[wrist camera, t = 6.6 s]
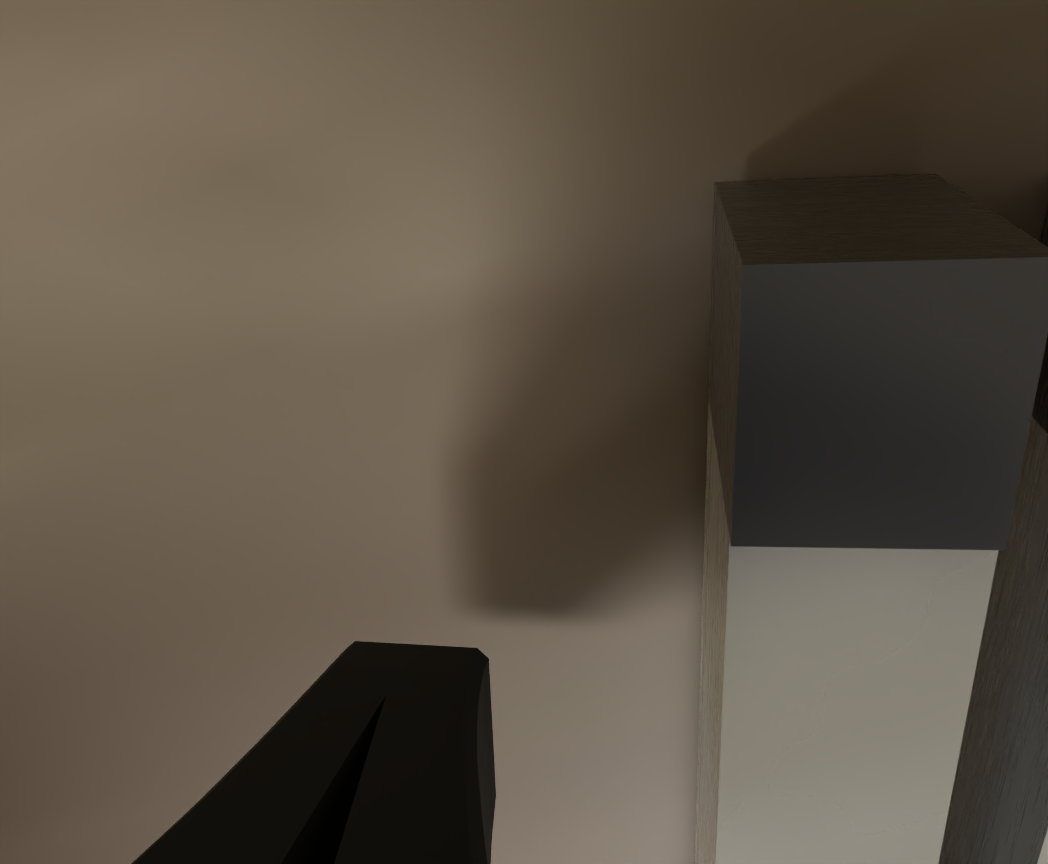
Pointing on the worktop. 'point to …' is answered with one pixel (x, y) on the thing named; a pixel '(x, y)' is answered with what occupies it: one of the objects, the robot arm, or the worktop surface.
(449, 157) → the worktop surface
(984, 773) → the fixed tong arm
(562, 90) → the worktop surface
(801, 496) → the hinged tong arm
